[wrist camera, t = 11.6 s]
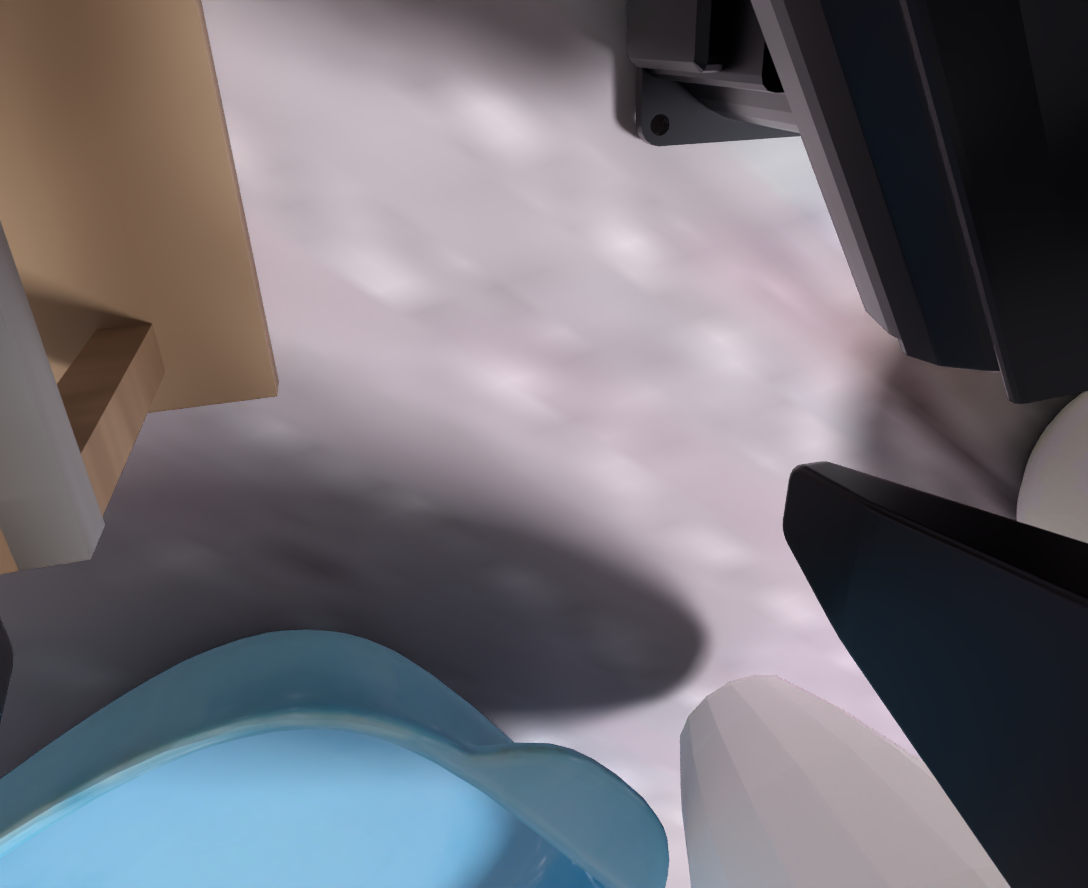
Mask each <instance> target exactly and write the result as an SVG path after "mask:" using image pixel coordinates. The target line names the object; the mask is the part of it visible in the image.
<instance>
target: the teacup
mask: <svg viewBox="0 0 1088 888" xmlns="http://www.w3.org/2000/svg"><path fill="white" fill-rule="evenodd" d="M1017 521H1019V522H1022V523H1025V524H1028V525H1032V526H1035V527H1038V528H1041V529H1044V530H1047V531H1051V532H1054V533H1057V534H1060V535H1063V536H1067V537H1070V538H1073V539H1076V540H1079V541H1083V542H1086V543H1088V391H1085V392H1082V393H1081V394H1080V395H1078V396H1077V397H1076V398H1075V399H1073V400H1072V401H1071V402H1070V403H1068V404H1067V405H1066V406H1065V407H1064V408H1063V409H1062V410H1061V411H1060V412H1059V413H1058V414H1057V416H1056V417H1055V418H1054V419H1053V420H1052V421H1051V423H1050V424H1049V425H1048V426H1047V427H1046V429H1045V430H1044V432H1043V433H1042V435H1041V436H1040V438H1039V439H1038V441H1037V443H1036V445H1035V446H1034V448H1033V450H1032V453H1031V455H1030V457H1029V459H1028V462H1027V465H1026V468H1025V473H1024V477H1023V480H1022V483H1021V487H1020V491H1019V497H1018V502H1017Z"/></svg>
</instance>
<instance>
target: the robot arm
mask: <svg viewBox="0 0 1088 888" xmlns="http://www.w3.org/2000/svg"><path fill="white" fill-rule="evenodd" d="M627 57H628V58H629V59H630V61H631V62H632V63H633V64H634V65H635V66H636V67H637V76H636V130H637V134H638V135H639V137H640V139H641V140H643V141H644V142H646V143H648V144H651V145H655V146H668V145H682V144H696V143H710V142H724V141H737V140H751V139H765V138H779V137H793V136H801V138H802V141H803V143H804V146H805V149H806V151H807V154H808V157H809V160H810V162H811V165H812V168H813V170H814V173H815V176H816V178H817V181H818V184H819V187H820V189H821V192H822V195H823V197H824V200H825V203H826V205H827V208H828V211H829V214H830V216H831V219H832V222H833V224H834V227H835V230H836V232H837V235H838V238H839V241H840V243H841V246H842V249H843V251H844V254H845V257H846V259H847V262H848V265H849V268H850V270H851V273H852V276H853V278H854V281H855V284H856V287H857V289H858V292H859V295H860V297H861V300H862V303H863V305H864V308H865V311H866V312H867V313H868V314H869V315H870V316H871V317H872V318H873V319H874V320H875V321H876V322H877V323H879V324H880V325H881V326H882V327H883V328H884V329H885V330H886V331H887V332H888V333H889V334H890V335H892V336H894V337H896V338H898V341H899V343H900V346H901V349H902V351H903V352H904V353H905V354H906V355H908V356H911V357H914V358H917V359H920V360H923V361H927V362H930V363H933V364H936V365H939V366H945V367H953V368H962V369H971V370H980V371H989V372H1001V375H1002V379H1003V383H1004V386H1005V390H1006V394H1007V397H1008V399H1009V401H1011V402H1013V403H1017V404H1025V403H1031V402H1036V401H1040V400H1045V399H1050V398H1055V397H1060V396H1065V395H1070V394H1075V393H1080V392H1085V391H1088V0H628V20H627ZM658 114H660V115H661V116H662V117H663V122H664V124H663V127H662V129H661V130H660V132H659V133H656V134H654V133H653V132H652V131H651V126H650V125H651V121H652V119H653V118H654V117H655V116H656V115H658ZM783 532H784V536H785V539H786V541H787V543H788V545H789V547H790V549H791V551H792V553H793V555H794V556H795V558H796V560H797V562H798V564H799V566H800V567H801V569H802V571H803V573H804V575H805V577H806V579H807V580H808V582H809V584H810V586H811V588H812V590H813V592H814V593H815V595H816V597H817V599H818V601H819V603H820V605H821V606H822V608H823V610H824V612H825V614H826V616H827V617H828V619H829V621H830V623H831V625H832V626H833V628H834V630H835V631H836V633H837V635H838V637H839V638H840V640H841V641H842V643H843V644H844V646H845V647H846V649H847V651H848V652H849V654H850V655H851V657H852V658H853V659H854V661H855V662H856V664H857V665H858V667H859V668H860V670H861V671H862V673H863V674H864V675H865V677H866V678H867V680H868V681H869V683H870V684H871V686H872V687H873V689H874V690H875V691H876V693H877V694H878V696H879V697H880V699H881V700H882V702H883V703H884V705H885V706H886V707H887V709H888V710H889V712H890V713H891V715H892V716H893V718H894V719H895V721H896V722H897V723H898V725H899V726H900V728H901V729H902V731H903V732H904V734H905V735H906V737H907V738H908V739H909V741H910V742H911V744H912V745H913V747H914V748H915V750H916V751H917V753H918V754H919V755H920V757H921V758H922V760H923V761H924V763H925V764H926V766H927V767H928V769H929V770H930V771H931V773H932V774H933V776H934V777H935V779H936V780H937V782H938V783H939V785H940V786H941V787H942V789H943V790H944V792H945V793H946V795H947V796H948V798H949V799H950V801H951V802H952V803H953V805H954V806H955V808H956V809H957V811H958V812H959V814H960V815H961V817H962V818H963V819H964V821H965V822H966V824H967V825H968V827H969V828H970V830H971V831H972V833H973V834H974V835H975V837H976V838H977V840H978V841H979V843H980V844H981V846H982V847H983V849H984V850H985V851H986V853H987V854H988V856H989V857H990V859H991V860H992V862H993V863H994V865H995V866H996V867H997V869H998V870H999V872H1000V873H1001V875H1002V876H1003V878H1004V879H1005V881H1006V882H1007V883H1008V885H1009V886H1010V888H1088V543H1086V542H1083V541H1079V540H1076V539H1073V538H1070V537H1067V536H1063V535H1060V534H1057V533H1054V532H1051V531H1047V530H1044V529H1041V528H1038V527H1035V526H1032V525H1028V524H1025V523H1022V522H1019V521H1016V520H1012V519H1009V518H1006V517H1003V516H1000V515H996V514H993V513H990V512H987V511H984V510H980V509H977V508H974V507H971V506H968V505H964V504H961V503H958V502H955V501H952V500H949V499H945V498H942V497H939V496H936V495H933V494H929V493H926V492H923V491H920V490H917V489H913V488H910V487H907V486H904V485H901V484H897V483H894V482H891V481H888V480H885V479H881V478H878V477H875V476H872V475H869V474H866V473H862V472H859V471H856V470H853V469H850V468H846V467H843V466H840V465H837V464H834V463H830V462H815V463H808V464H802V465H798V466H796V467H795V468H794V469H793V470H792V472H791V474H790V478H789V483H788V490H787V496H786V503H785V510H784V516H783ZM12 667H13V651H12V646H11V643H10V640H9V637H8V635H7V633H6V630H5V628H4V625H3V623H2V621H1V618H0V722H1V718H2V713H3V709H4V704H5V700H6V695H7V691H8V686H9V682H10V677H11V673H12Z"/></svg>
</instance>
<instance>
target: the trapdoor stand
mask: <svg viewBox="0 0 1088 888" xmlns="http://www.w3.org/2000/svg"><path fill="white" fill-rule="evenodd" d="M278 382H279V381H278V376H277V371H276V366H275V362H274V357H273V352H272V347H271V342H270V337H269V332H268V327H267V322H266V317H265V312H264V308H263V303H262V298H261V293H260V288H259V283H258V278H257V273H256V268H255V263H254V258H253V253H252V249H251V244H250V239H249V234H248V229H247V224H246V219H245V214H244V209H243V204H242V199H241V195H240V190H239V185H238V180H237V175H236V170H235V165H234V160H233V155H232V150H231V145H230V141H229V136H228V131H227V126H226V121H225V116H224V111H223V106H222V101H221V96H220V91H219V87H218V82H217V77H216V72H215V67H214V62H213V57H212V52H211V47H210V42H209V37H208V32H207V28H206V23H205V18H204V13H203V8H202V3H201V0H0V574H5V573H11V572H17V571H23V570H30V569H36V568H42V567H48V566H54V565H60V564H67V563H73V562H79V561H85V560H91V558H92V555H93V553H94V551H95V548H96V546H97V543H98V541H99V539H100V536H101V534H102V532H103V529H104V527H105V523H104V520H103V515H104V513H105V510H106V508H107V506H108V503H109V501H110V499H111V496H112V494H113V492H114V489H115V487H116V485H117V482H118V480H119V478H120V476H121V473H122V471H123V469H124V466H125V464H126V462H127V459H128V457H129V455H130V452H131V450H132V448H133V445H134V443H135V441H136V439H137V436H138V434H139V432H140V429H141V427H142V425H143V422H144V420H145V418H146V415H147V413H151V412H158V411H166V410H174V409H182V408H189V407H197V406H205V405H213V404H221V403H228V402H236V401H244V400H252V399H260V398H267V397H275V396H277V393H278Z"/></svg>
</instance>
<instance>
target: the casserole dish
mask: <svg viewBox="0 0 1088 888" xmlns="http://www.w3.org/2000/svg"><path fill="white" fill-rule="evenodd" d="M668 867H669V852H668V841H667V836H666V833H665V830H664V827H663V825H662V824H661V822H660V821H659V819H658V817H657V816H656V814H655V813H654V812H653V810H652V809H651V808H650V806H649V805H648V804H647V802H646V801H645V800H644V798H643V797H642V796H640V795H639V794H638V793H637V792H636V791H635V790H634V789H632V788H631V787H630V786H629V785H628V784H627V783H625V782H624V781H623V780H622V779H621V778H620V777H619V776H617V775H616V774H615V773H613V772H612V771H610V770H609V769H607V768H606V767H604V766H603V765H601V764H600V763H598V762H597V761H595V760H594V759H592V758H590V757H588V756H586V755H584V754H581V753H579V752H577V751H575V750H573V749H570V748H566V747H562V746H558V745H554V744H548V743H514V742H513V741H512V740H511V739H510V738H508V737H507V736H506V735H505V734H504V733H503V732H502V731H501V730H499V729H498V728H497V727H496V726H495V725H494V724H493V723H491V722H490V721H489V720H488V719H487V718H486V717H485V716H484V715H482V714H481V713H480V712H479V711H478V710H477V709H476V708H474V707H473V706H472V705H471V704H469V703H468V702H467V701H466V700H464V699H463V698H462V697H460V696H459V695H458V694H456V693H455V692H454V691H453V690H451V689H450V688H449V687H447V686H446V685H445V684H444V683H442V682H441V681H440V680H438V679H437V678H436V677H434V676H433V675H432V674H430V673H429V672H427V671H426V670H424V669H423V668H421V667H420V666H418V665H416V664H415V663H413V662H412V661H410V660H409V659H407V658H405V657H404V656H402V655H401V654H399V653H398V652H396V651H394V650H391V649H389V648H387V647H384V646H382V645H380V644H378V643H375V642H373V641H371V640H368V639H365V638H361V637H358V636H355V635H351V634H347V633H341V632H334V631H324V630H284V631H275V632H268V633H263V634H259V635H255V636H251V637H247V638H243V639H239V640H236V641H234V642H231V643H228V644H225V645H222V646H219V647H216V648H214V649H211V650H209V651H206V652H204V653H201V654H199V655H196V656H194V657H192V658H189V659H187V660H185V661H182V662H181V663H179V664H177V665H175V666H173V667H171V668H169V669H168V670H166V671H164V672H162V673H160V674H158V675H157V676H155V677H153V678H151V679H149V680H148V681H146V682H144V683H143V684H141V685H139V686H138V687H136V688H134V689H133V690H131V691H129V692H128V693H126V694H124V695H123V696H121V697H119V698H118V699H116V700H115V701H113V702H111V703H110V704H108V705H107V706H105V707H104V708H102V709H100V710H99V711H97V712H96V713H94V714H92V715H91V716H89V717H88V718H86V719H85V720H83V721H82V722H81V723H79V724H78V725H76V726H75V727H73V728H72V729H70V730H69V731H67V732H66V733H64V734H63V735H61V736H60V737H58V738H57V739H56V740H54V741H53V742H51V743H50V744H48V745H47V746H45V747H44V748H43V749H41V750H40V751H38V752H37V753H36V754H34V755H33V756H32V757H30V758H29V759H27V760H26V761H25V762H23V763H22V764H20V765H19V766H18V767H16V768H15V769H14V770H12V771H11V772H9V773H8V774H7V775H5V776H4V777H2V778H1V779H0V888H665V885H666V881H667V876H668Z"/></svg>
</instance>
